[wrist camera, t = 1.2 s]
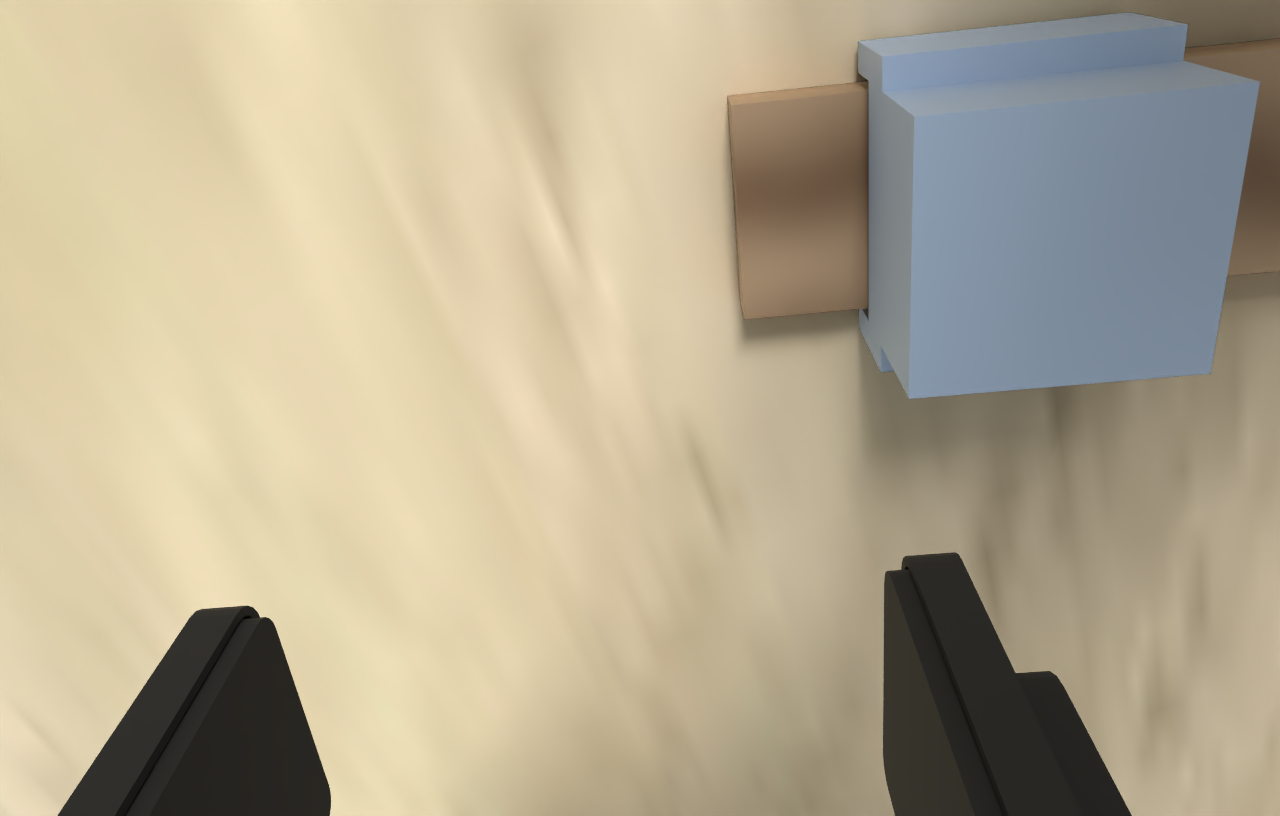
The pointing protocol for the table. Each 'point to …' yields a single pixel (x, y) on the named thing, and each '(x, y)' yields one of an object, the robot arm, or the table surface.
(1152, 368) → the block
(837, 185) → the rail
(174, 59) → the table surface
